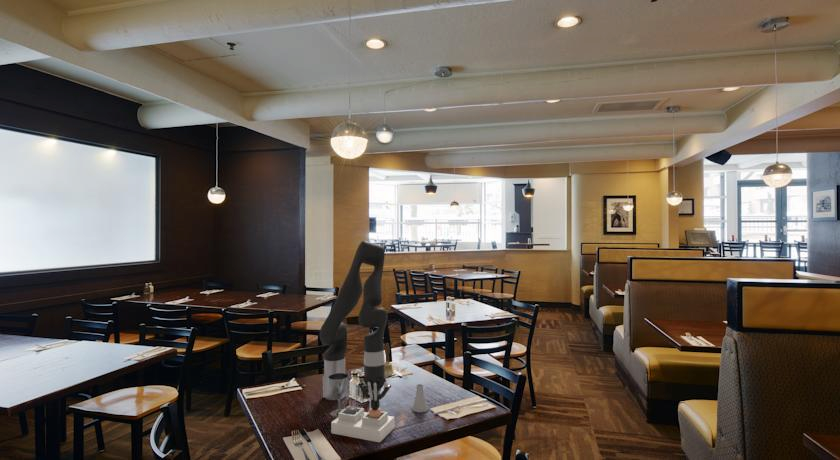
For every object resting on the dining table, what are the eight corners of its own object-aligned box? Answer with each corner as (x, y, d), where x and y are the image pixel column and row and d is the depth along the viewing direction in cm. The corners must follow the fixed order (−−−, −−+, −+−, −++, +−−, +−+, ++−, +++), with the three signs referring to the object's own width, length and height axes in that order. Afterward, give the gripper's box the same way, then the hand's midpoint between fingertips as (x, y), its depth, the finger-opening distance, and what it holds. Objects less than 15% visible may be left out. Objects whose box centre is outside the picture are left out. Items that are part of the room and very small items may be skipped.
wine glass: (352, 409, 177) (351, 373, 177) (343, 418, 170) (342, 380, 169) (335, 407, 180) (334, 372, 180) (325, 415, 172) (324, 378, 172)
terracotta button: (366, 419, 156) (366, 410, 156) (372, 414, 160) (372, 406, 160) (377, 420, 154) (377, 412, 154) (383, 415, 158) (383, 407, 158)
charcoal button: (343, 418, 160) (343, 410, 160) (349, 413, 164) (349, 405, 164) (353, 419, 158) (353, 411, 158) (359, 415, 162) (359, 407, 162)
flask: (427, 413, 172) (426, 389, 172) (409, 412, 173) (409, 388, 173) (430, 406, 179) (430, 382, 179) (413, 405, 180) (413, 381, 180)
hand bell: (397, 371, 223) (396, 341, 223) (393, 377, 215) (392, 345, 215) (381, 371, 225) (381, 340, 225) (377, 376, 216) (376, 345, 216)
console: (331, 433, 157) (331, 415, 157) (348, 419, 168) (348, 402, 168) (379, 442, 150) (379, 423, 150) (394, 427, 161) (394, 410, 161)
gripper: (353, 363, 156) (354, 411, 156) (385, 367, 151) (386, 416, 151) (363, 357, 163) (364, 403, 163) (394, 360, 158) (396, 407, 158)
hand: (375, 409), depth 157 cm, fingers closed
